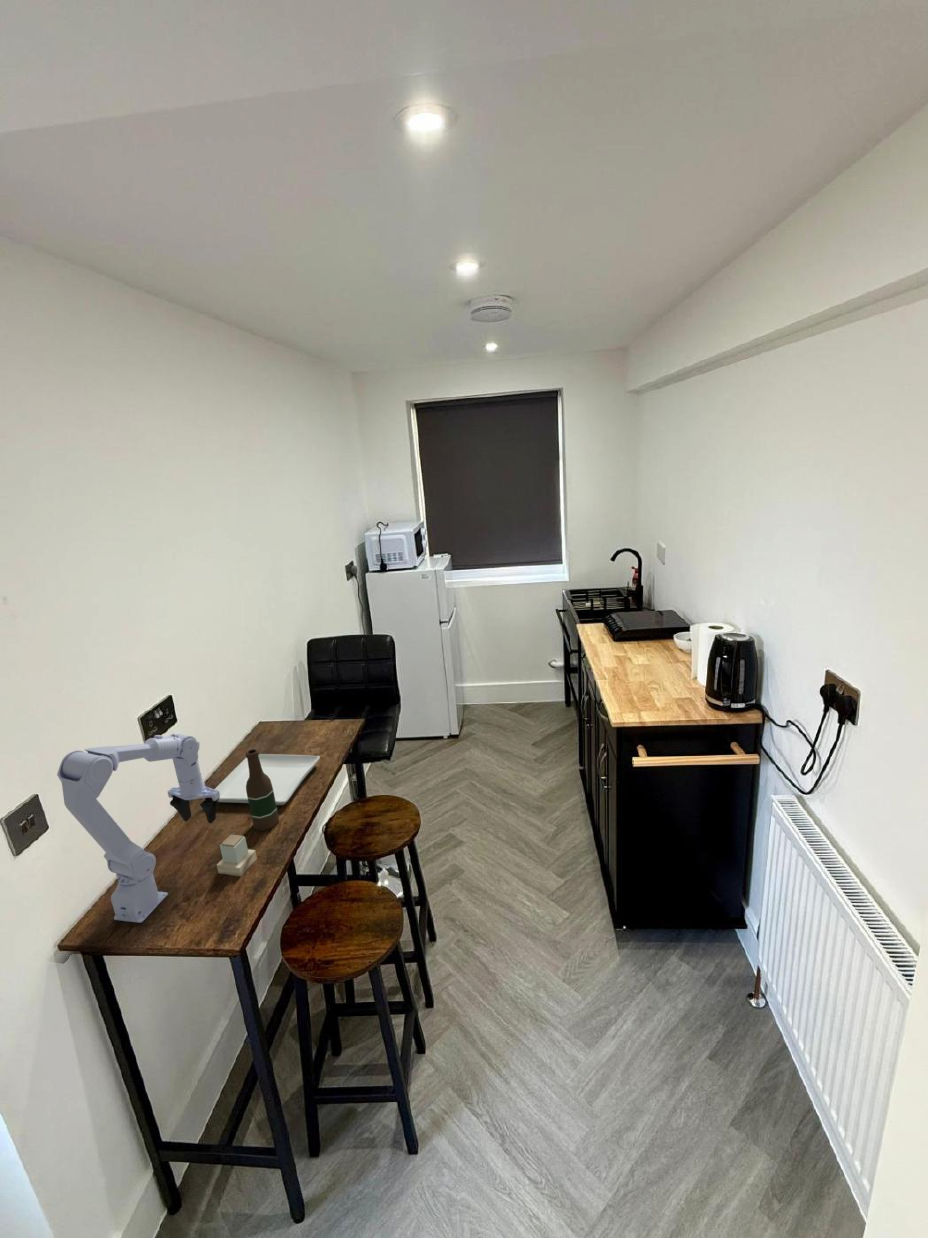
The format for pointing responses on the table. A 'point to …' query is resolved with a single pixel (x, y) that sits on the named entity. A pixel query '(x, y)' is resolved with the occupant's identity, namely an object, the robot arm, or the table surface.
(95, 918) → the table surface
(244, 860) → the base block
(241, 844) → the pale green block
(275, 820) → the beer bottle
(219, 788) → the square plate
